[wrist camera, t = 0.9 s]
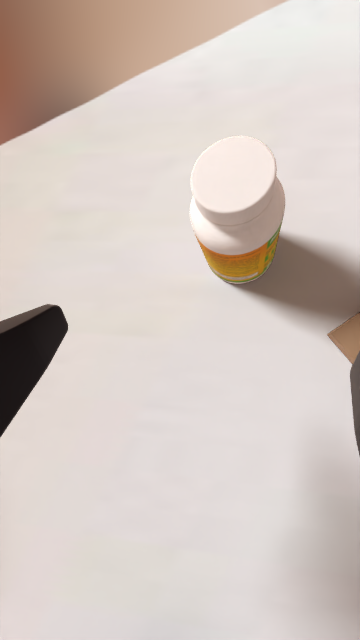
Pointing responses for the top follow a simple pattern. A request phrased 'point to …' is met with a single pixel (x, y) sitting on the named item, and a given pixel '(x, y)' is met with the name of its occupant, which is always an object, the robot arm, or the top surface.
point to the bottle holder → (348, 337)
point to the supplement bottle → (237, 207)
